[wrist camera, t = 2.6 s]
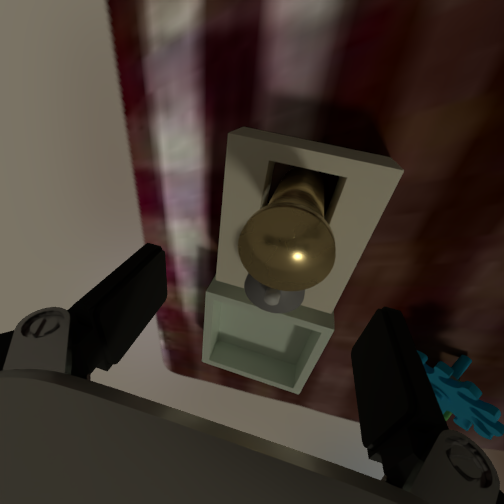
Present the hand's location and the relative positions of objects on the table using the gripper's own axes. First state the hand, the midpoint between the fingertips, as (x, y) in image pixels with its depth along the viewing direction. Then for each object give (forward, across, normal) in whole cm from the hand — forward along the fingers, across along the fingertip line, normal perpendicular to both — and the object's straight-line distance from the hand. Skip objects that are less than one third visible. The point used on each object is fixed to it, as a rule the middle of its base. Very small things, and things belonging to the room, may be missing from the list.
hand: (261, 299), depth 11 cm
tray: (+15, -1, +18) cm, 23 cm away
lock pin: (+14, -1, -1) cm, 14 cm away
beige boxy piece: (+14, -1, +2) cm, 15 cm away
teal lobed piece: (+14, -21, +16) cm, 30 cm away
